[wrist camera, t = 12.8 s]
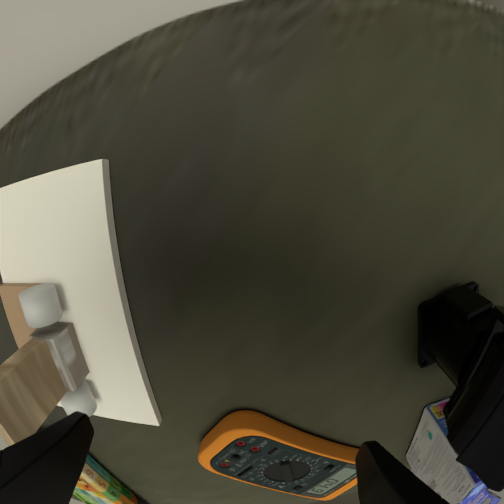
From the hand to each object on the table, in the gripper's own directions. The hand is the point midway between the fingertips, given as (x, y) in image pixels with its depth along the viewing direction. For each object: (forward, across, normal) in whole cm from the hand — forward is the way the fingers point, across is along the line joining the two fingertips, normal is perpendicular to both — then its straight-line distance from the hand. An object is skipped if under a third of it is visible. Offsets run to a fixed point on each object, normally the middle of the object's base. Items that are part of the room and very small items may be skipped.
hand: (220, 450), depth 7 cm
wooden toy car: (+12, +15, +6) cm, 20 cm away
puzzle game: (+14, +21, +32) cm, 41 cm away
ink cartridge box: (+13, -23, +16) cm, 31 cm away
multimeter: (+14, -6, +18) cm, 23 cm away
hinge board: (+13, +15, +4) cm, 20 cm away
